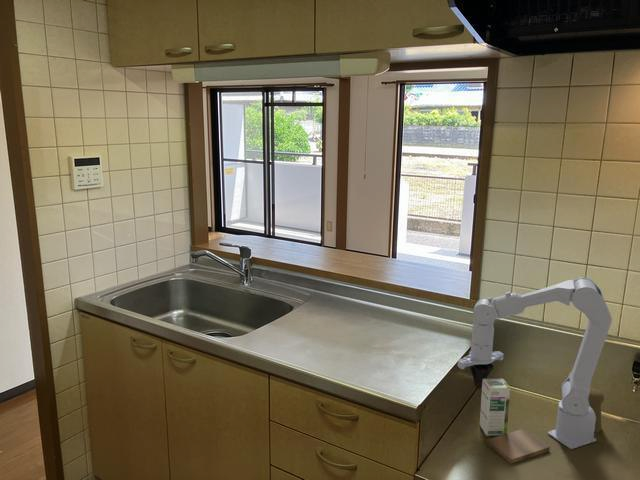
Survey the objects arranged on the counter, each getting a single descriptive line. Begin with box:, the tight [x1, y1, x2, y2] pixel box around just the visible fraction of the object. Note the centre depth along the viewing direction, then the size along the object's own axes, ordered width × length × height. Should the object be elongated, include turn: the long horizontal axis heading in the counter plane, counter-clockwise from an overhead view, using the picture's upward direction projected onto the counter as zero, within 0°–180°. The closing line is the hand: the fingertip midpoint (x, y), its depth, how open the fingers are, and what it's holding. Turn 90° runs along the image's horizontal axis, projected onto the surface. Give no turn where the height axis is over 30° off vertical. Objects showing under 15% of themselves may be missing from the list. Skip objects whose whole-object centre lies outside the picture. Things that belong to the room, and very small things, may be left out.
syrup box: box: [479, 377, 511, 437], centre depth 143 cm, size 6×6×14 cm
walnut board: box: [485, 428, 551, 465], centre depth 137 cm, size 13×9×1 cm
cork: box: [588, 387, 605, 433], centre depth 146 cm, size 6×6×11 cm
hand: (478, 386), depth 148 cm, fingers closed
